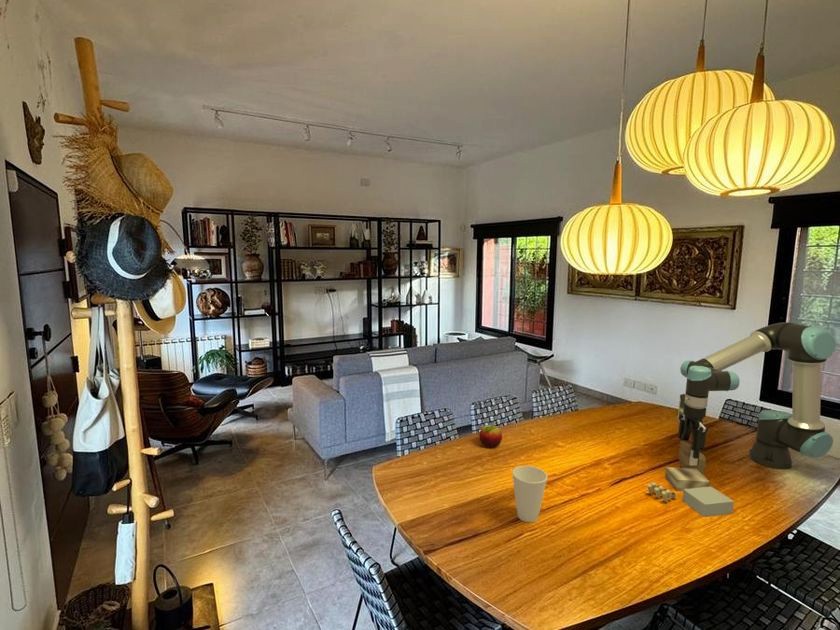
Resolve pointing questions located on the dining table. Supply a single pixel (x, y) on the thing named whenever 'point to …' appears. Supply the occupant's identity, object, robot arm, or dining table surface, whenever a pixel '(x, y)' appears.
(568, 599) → the dining table surface
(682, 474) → the pale oak block
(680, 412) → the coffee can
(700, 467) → the coral
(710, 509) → the grey painted block
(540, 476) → the cup
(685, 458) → the walnut block
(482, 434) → the fruit
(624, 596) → the dining table surface
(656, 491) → the ammunition
